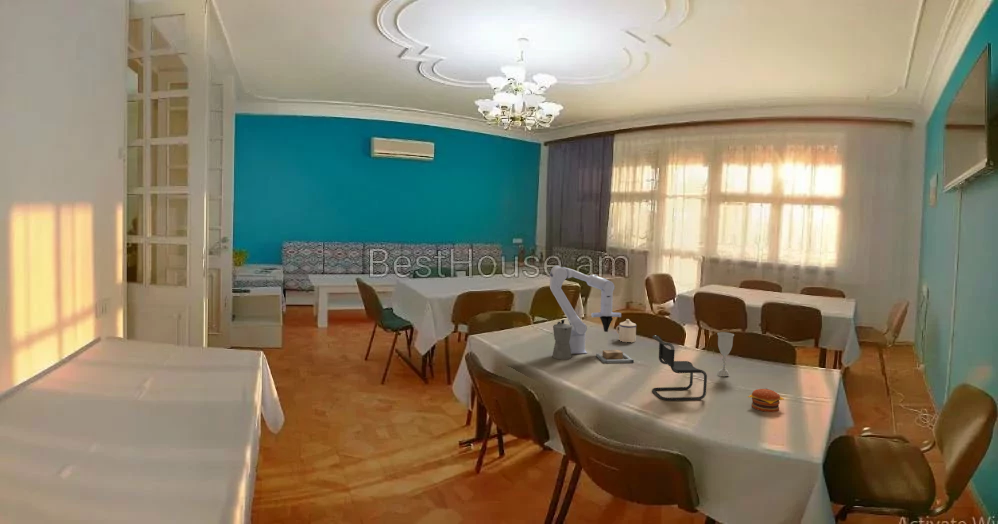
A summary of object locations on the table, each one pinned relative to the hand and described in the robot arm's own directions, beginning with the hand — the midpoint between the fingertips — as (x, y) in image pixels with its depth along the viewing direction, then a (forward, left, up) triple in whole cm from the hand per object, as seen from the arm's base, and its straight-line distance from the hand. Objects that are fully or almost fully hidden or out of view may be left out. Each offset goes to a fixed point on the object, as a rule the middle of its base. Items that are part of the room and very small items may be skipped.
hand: (605, 331), depth 282 cm
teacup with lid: (+18, +22, -10) cm, 30 cm away
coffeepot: (-24, -8, -10) cm, 27 cm away
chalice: (+39, -43, -10) cm, 59 cm away
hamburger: (+34, -82, -10) cm, 90 cm away
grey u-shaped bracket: (0, -14, -10) cm, 17 cm away
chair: (+8, -66, -10) cm, 67 cm away
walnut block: (-1, -15, -10) cm, 18 cm away
